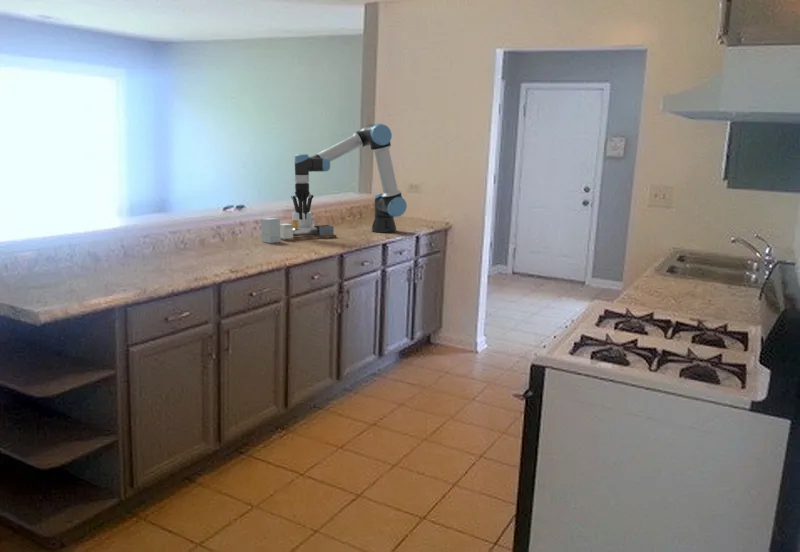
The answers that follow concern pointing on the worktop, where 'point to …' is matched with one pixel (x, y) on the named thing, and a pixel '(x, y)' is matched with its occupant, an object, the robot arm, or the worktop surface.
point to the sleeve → (325, 230)
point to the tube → (303, 230)
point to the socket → (286, 231)
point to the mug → (307, 221)
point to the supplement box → (270, 230)
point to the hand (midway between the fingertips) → (303, 225)
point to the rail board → (307, 237)
